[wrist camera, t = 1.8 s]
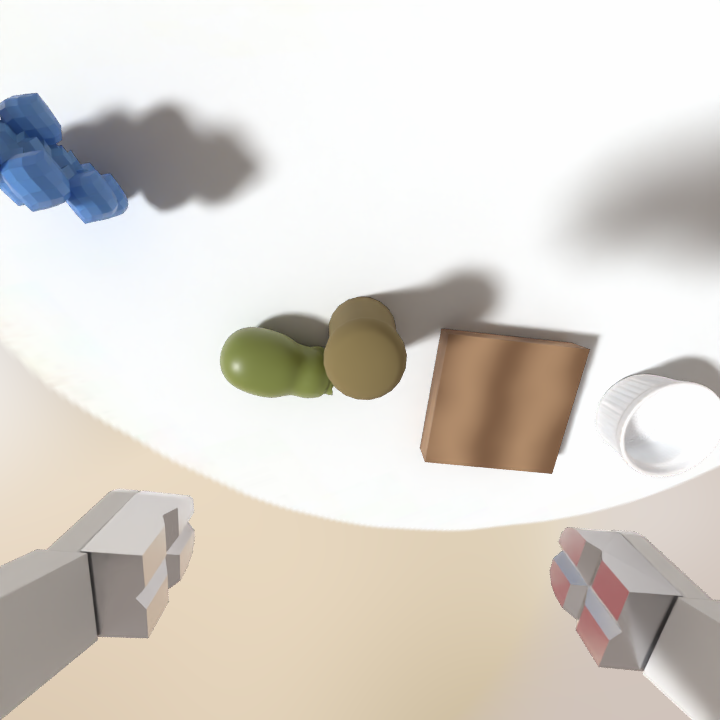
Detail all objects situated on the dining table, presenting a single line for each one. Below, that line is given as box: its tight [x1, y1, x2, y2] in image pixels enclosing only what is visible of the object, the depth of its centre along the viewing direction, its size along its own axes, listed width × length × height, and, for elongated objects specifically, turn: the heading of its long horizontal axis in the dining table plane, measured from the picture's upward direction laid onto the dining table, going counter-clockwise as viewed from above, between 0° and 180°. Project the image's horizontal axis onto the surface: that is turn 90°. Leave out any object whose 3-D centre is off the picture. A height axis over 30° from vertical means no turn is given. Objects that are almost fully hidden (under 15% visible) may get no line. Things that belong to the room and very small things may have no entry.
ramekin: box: [595, 374, 720, 477], centre depth 31 cm, size 9×9×4 cm
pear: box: [220, 327, 334, 398], centre depth 29 cm, size 6×5×10 cm
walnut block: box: [420, 328, 590, 474], centre depth 31 cm, size 12×12×2 cm
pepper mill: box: [324, 297, 407, 400], centre depth 25 cm, size 6×6×11 cm
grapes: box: [0, 93, 128, 224], centre depth 21 cm, size 12×7×12 cm, turn 66°
